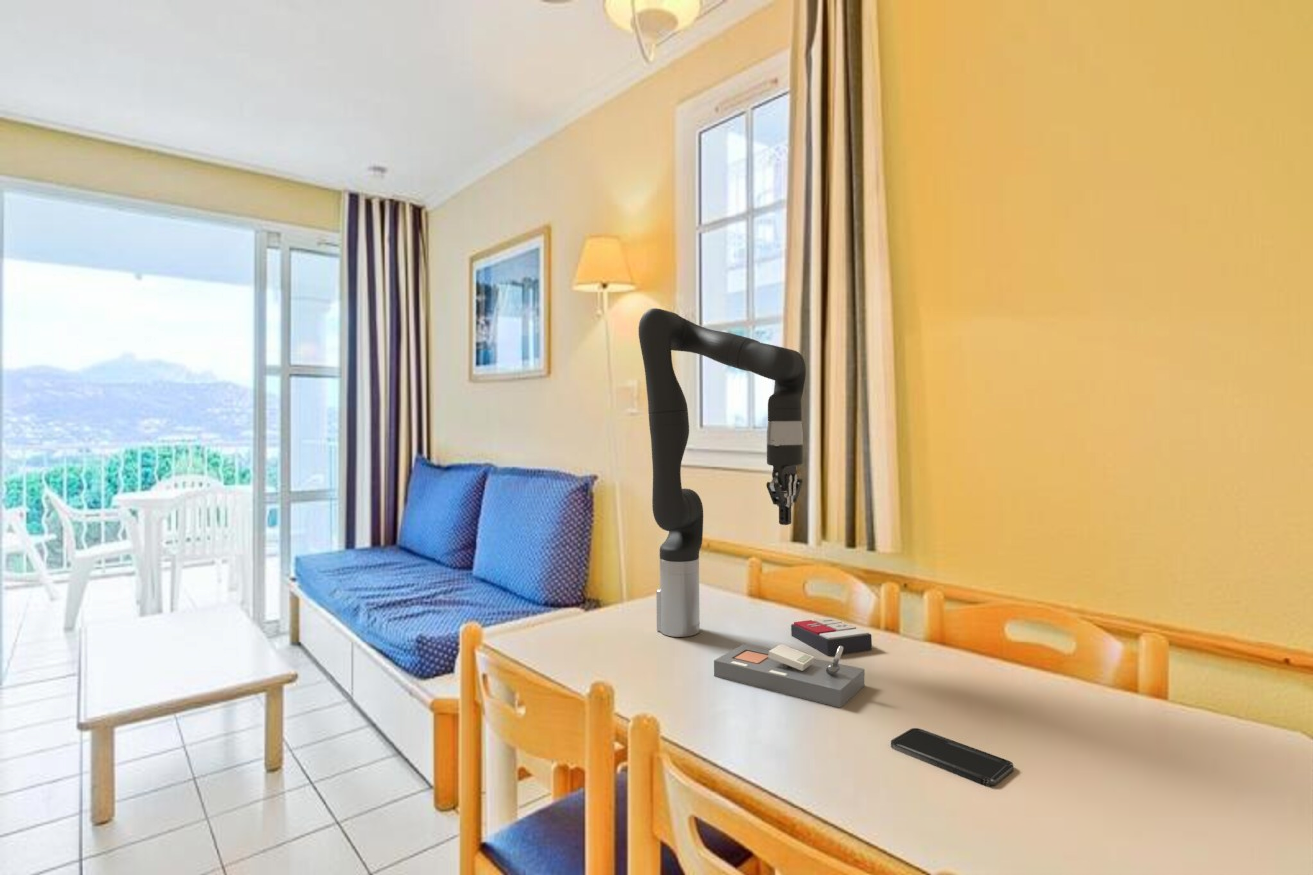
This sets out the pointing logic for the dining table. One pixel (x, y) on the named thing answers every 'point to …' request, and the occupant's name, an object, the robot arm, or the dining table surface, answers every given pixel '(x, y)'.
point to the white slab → (791, 657)
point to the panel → (792, 677)
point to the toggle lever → (835, 663)
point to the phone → (953, 757)
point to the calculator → (831, 636)
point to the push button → (752, 657)
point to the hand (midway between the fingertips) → (785, 524)
